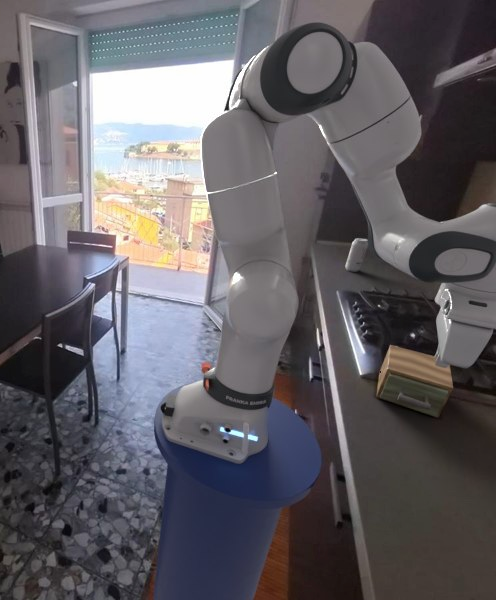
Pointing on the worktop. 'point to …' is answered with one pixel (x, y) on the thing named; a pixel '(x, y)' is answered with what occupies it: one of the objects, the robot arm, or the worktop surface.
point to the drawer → (414, 394)
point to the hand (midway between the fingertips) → (440, 363)
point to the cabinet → (414, 370)
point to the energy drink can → (356, 254)
